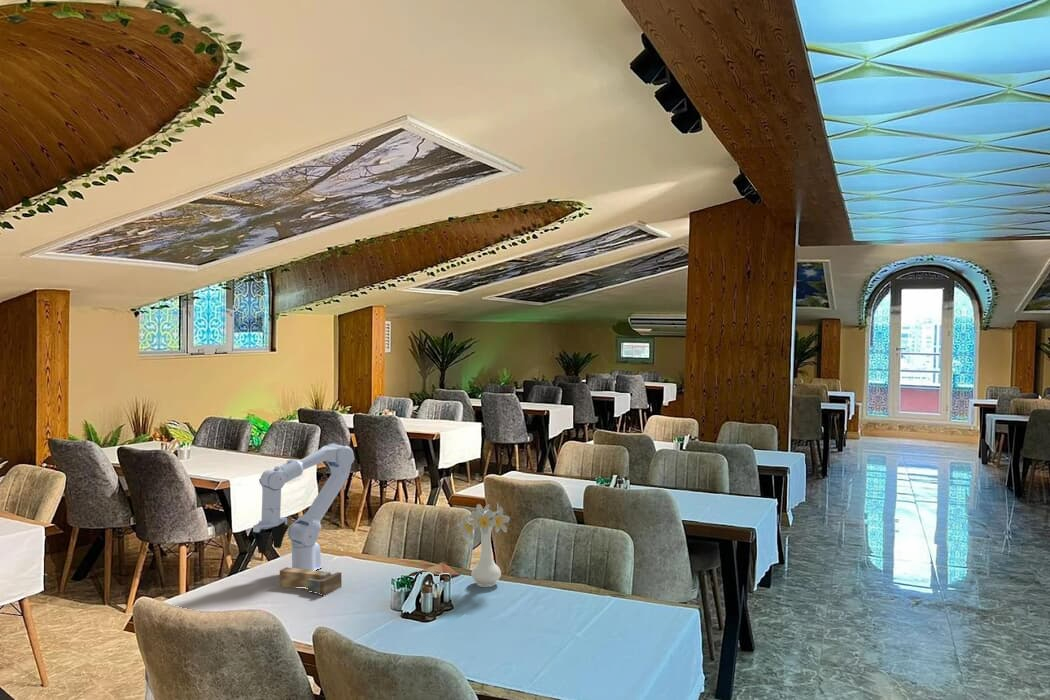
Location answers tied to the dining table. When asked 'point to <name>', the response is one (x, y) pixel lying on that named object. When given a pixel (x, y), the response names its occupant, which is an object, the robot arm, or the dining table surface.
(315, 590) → the wooden channel piece
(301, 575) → the bed rail
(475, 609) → the dining table surface
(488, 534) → the flower vase
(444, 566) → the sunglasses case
